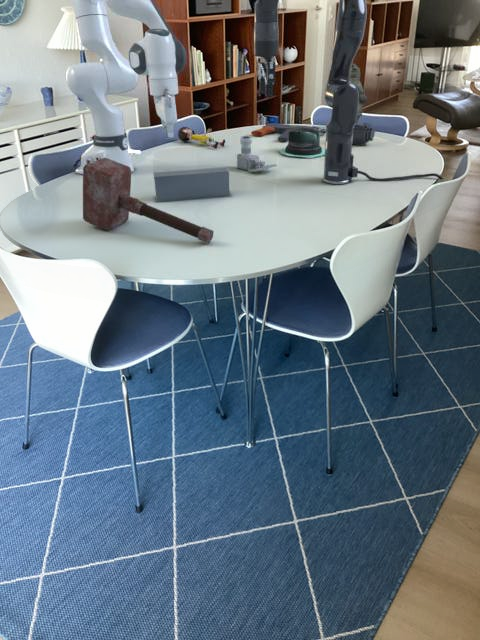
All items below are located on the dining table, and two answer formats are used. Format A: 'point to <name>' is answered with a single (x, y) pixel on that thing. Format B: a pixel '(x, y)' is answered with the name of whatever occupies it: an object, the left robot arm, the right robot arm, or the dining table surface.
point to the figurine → (197, 137)
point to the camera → (249, 157)
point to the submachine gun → (281, 130)
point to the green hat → (303, 143)
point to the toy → (363, 134)
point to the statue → (356, 81)
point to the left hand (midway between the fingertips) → (168, 134)
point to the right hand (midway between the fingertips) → (266, 95)
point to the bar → (191, 184)
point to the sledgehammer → (123, 200)
